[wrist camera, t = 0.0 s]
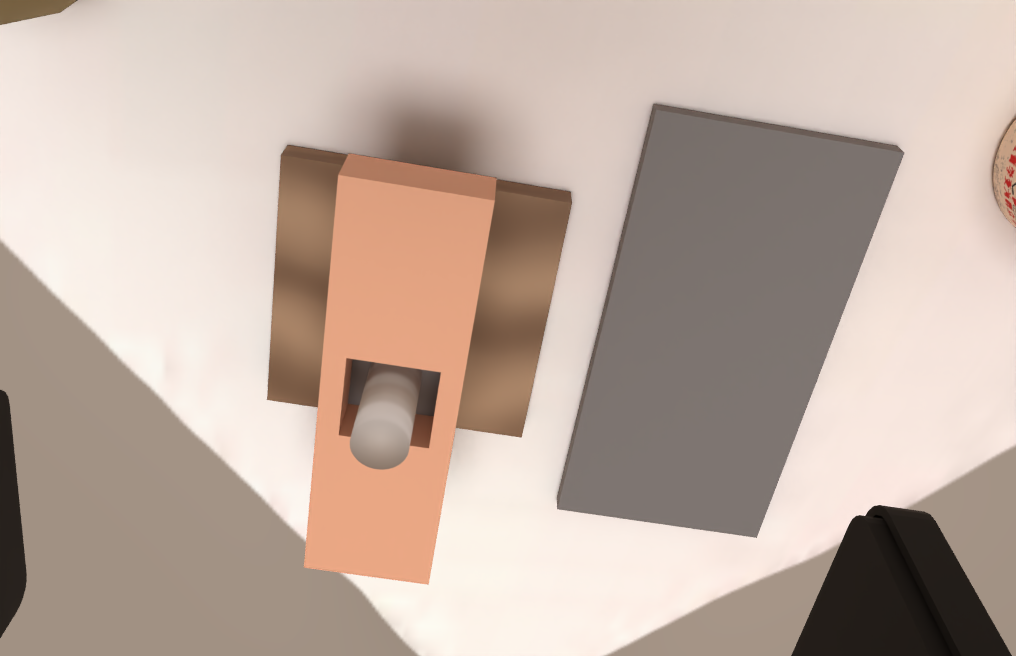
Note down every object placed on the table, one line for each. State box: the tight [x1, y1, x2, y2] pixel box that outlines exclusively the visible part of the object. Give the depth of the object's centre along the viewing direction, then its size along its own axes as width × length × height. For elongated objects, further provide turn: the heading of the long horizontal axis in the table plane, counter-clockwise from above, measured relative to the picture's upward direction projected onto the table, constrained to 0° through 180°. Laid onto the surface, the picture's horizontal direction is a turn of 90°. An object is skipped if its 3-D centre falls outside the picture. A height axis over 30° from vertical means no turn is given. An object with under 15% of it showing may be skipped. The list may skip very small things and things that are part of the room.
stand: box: [267, 145, 572, 470], centre depth 45 cm, size 14×14×14 cm
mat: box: [557, 104, 904, 538], centre depth 51 cm, size 24×12×1 cm, turn 170°
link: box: [304, 154, 496, 584], centre depth 42 cm, size 20×6×2 cm, turn 170°
